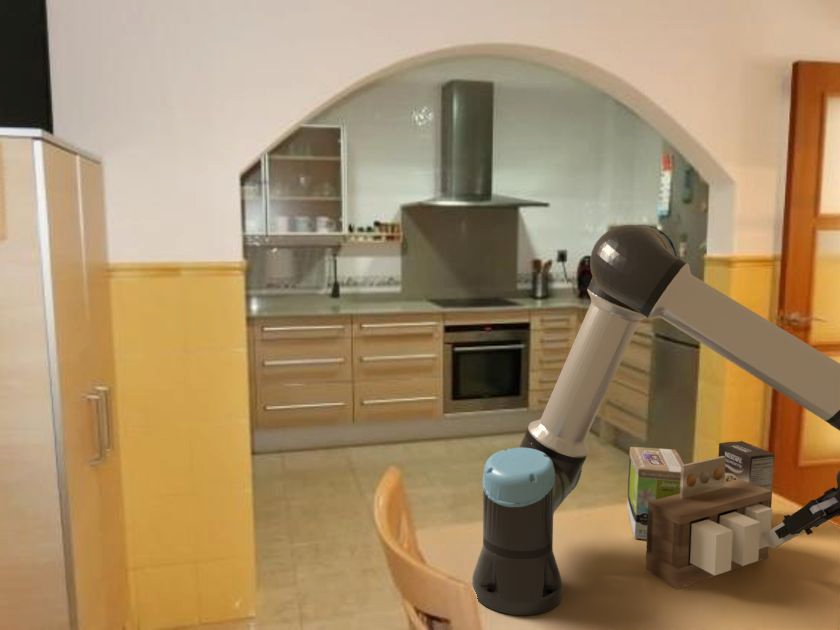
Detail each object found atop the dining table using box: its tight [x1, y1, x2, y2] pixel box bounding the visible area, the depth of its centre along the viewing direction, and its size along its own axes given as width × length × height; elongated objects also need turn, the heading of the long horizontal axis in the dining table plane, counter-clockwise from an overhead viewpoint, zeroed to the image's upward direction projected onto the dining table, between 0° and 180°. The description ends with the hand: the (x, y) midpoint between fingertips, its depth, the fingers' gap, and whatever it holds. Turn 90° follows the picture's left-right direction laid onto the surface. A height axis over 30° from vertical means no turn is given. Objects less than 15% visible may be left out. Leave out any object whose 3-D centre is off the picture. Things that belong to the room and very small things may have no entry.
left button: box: [690, 519, 733, 577], centre depth 114 cm, size 5×4×7 cm
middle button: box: [719, 512, 760, 567], centre depth 117 cm, size 5×4×7 cm
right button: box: [745, 503, 773, 549], centre depth 123 cm, size 5×4×7 cm
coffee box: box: [717, 440, 775, 492], centre depth 140 cm, size 9×6×16 cm
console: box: [645, 456, 773, 589], centre depth 122 cm, size 7×24×19 cm, turn 117°
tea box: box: [626, 446, 686, 541], centre depth 139 cm, size 15×10×15 cm, turn 169°
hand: (769, 540), depth 120 cm, fingers closed
